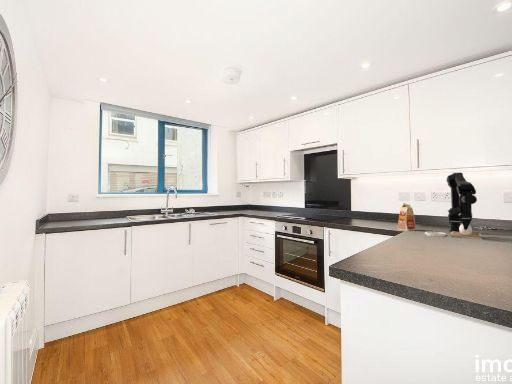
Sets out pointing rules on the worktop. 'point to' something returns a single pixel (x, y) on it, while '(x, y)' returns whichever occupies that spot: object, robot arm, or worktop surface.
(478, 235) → the tray
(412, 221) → the milk carton
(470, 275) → the worktop surface
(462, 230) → the egg
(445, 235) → the white faceted hoop
